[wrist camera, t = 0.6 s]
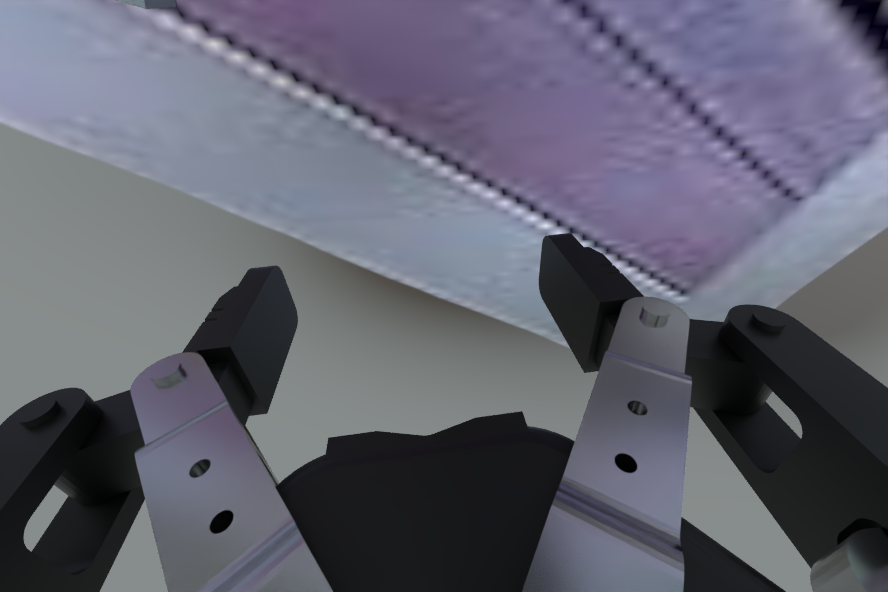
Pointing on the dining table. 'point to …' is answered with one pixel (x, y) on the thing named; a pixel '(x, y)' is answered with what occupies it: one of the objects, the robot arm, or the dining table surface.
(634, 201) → the dining table surface
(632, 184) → the dining table surface
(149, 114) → the dining table surface
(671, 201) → the dining table surface
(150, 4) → the channel
